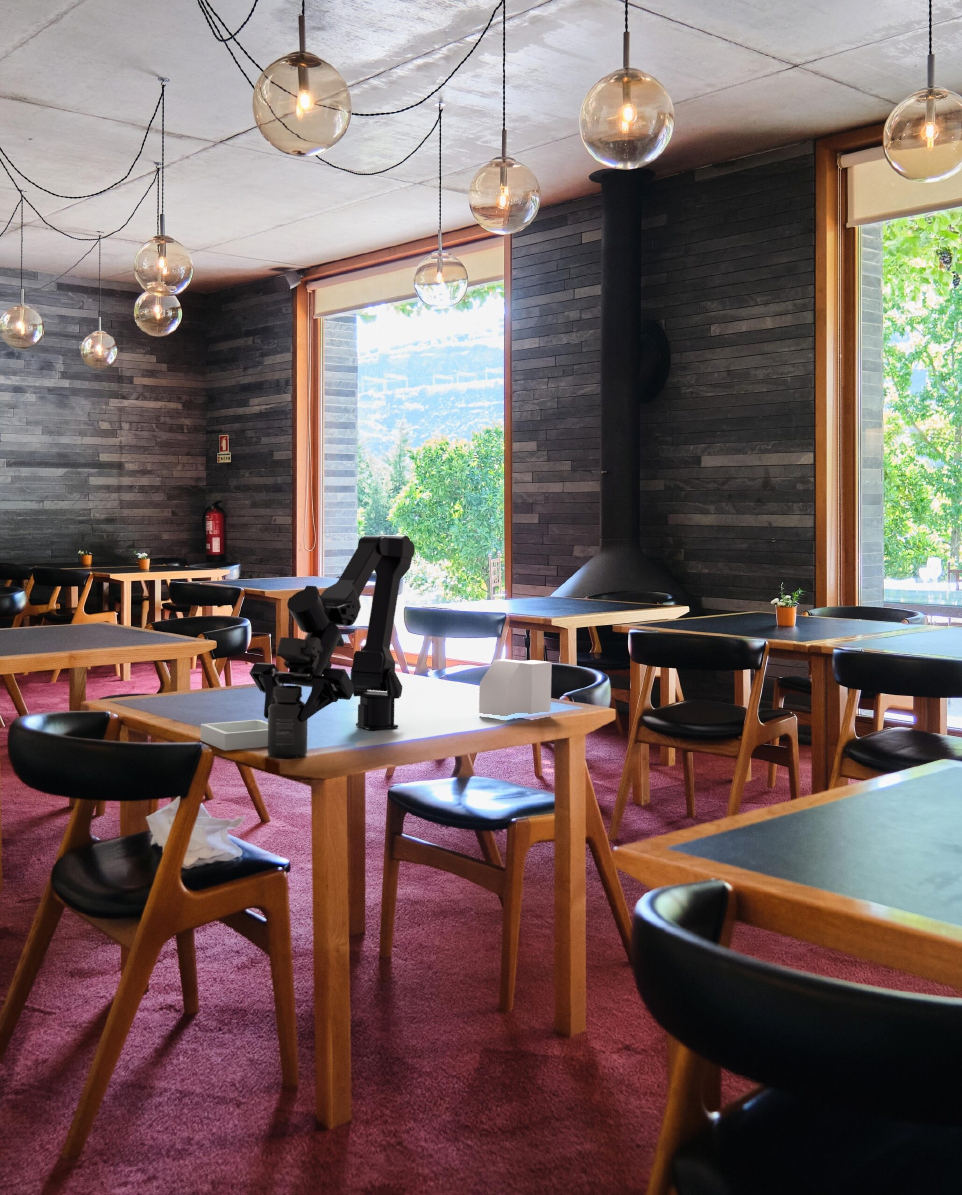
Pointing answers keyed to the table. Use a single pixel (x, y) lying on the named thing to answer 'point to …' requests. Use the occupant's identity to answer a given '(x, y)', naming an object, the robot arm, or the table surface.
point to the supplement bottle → (286, 723)
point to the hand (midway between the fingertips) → (283, 718)
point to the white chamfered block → (516, 687)
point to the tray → (236, 734)
